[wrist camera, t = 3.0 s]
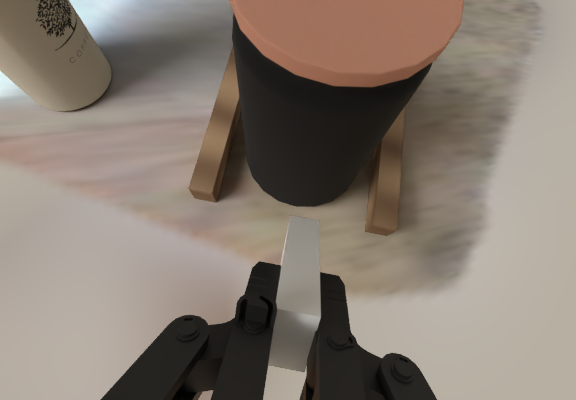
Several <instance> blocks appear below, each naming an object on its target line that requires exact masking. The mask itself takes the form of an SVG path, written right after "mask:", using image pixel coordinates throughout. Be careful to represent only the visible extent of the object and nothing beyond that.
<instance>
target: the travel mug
mask: <svg viewBox="0 0 576 400" xmlns="http://www.w3.org/2000/svg"><path fill="white" fill-rule="evenodd" d="M0 71H1V72H2V73H4V74H5V75H6V76H7V77H8V78H9V79H10V80H11V81H13V82H14V83H15V84H16V85H17V86H18V87H19V88H20V89H22V90H23V91H24V92H25V93H26V94H27V95H28V96H29V97H31V98H32V99H33V100H34V101H35V102H36V103H37V104H39V105H40V106H42V107H44V108H47V109H50V110H55V111H71V110H76V109H80V108H82V107H85V106H87V105H89V104H91V103H93V102H94V101H96V100H97V99H98V98H99V97H100V96H102V94H103V93H104V92H105V91H106V89H107V88H108V86H109V83H110V80H111V68H110V65H109V63H108V61H107V59H106V58H105V56H104V55H103V53H102V52H101V50H100V49H99V47H98V45H97V44H96V42H95V41H94V39H93V38H92V36H91V34H90V33H89V31H88V30H87V28H86V27H85V25H84V24H83V22H82V20H81V19H80V17H79V16H78V14H77V13H76V11H75V10H74V8H73V6H72V5H71V3H70V2H69V0H0Z"/></svg>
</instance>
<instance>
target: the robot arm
mask: <svg viewBox="0 0 576 400" xmlns="http://www.w3.org/2000/svg"><path fill="white" fill-rule="evenodd" d="M345 294H346V293H345V285H344V283H343V282H342V280H341V279H340V277H339V276H336V275H331V274H326V273H321V272H320V253H319V220H313V219H308V218H303V217H298V216H293V215H290V219H289V224H288V229H287V234H286V239H285V244H284V249H283V254H282V259H281V265H275V264H270V263H265V262H260V261H259V262H258V263H257V264H256V265H255V266H254V267H253V268H252V271H251V274H250V278H249V281H248V285H247V288H246V291H245V294H244V295H243V296H242V297H240V299H239V300H238V302H237V307H236V314H235V318H234V319H232V320H231V321H228V322H226V323H222V324H216V325H208V324H207V322H206V321H205V320H204V319H202V318H201V317H199V316H194V315H185V316H182V317H179V318H176V319H175V320H174V321H172V322H171V323H170V324H169V325H168V326H167V327H166V328H165V329H164V330H163V332H162V333H161V334H160V335H159V336H158V337H157V338H156V339H155V340H154V341H153V343H152V344H151V345H150V346H149V347H148V348H147V349H146V350H145V351H144V353H143V354H142V355H141V356H140V357H139V358H138V359H137V360H136V362H134V364H133V365H132V366H131V367H130V368H129V369H128V370H127V371H126V373H125V374H124V375H123V376H122V377H121V378H120V379H119V380H118V381H117V382H116V383H115V385H114V386H113V387H112V388H111V389H110V390H109V391H108V392H107V394H105V396H104V397H103V398H102V399H101V400H198V398H199V397H200V395H201V394H202V391H208V390H214V391H213V394H212V397H211V400H263V395H264V388H265V381H266V374H267V368H268V365H270V366H275V367H280V368H285V369H291V370H296V371H301V372H305V369H306V366H307V377H306V380H305V383H304V386H303V390H302V393H301V397H300V400H437V399H436V397H435V395H434V393H433V392H432V390H431V388H430V386H429V385H428V383H427V381H426V379H425V378H424V376H423V374H422V372H421V371H420V369H419V368H418V367H417V366H416V364H415V363H413V362H412V361H411V360H410V359H409V358H407V357H405V356H403V355H401V354H396V353H390V354H386V355H385V356H384V357H383V358H380V357H378V356H375V355H373V354H371V353H369V352H367V351H366V350H364V349H363V348H361V347H360V346H359V345H358V344H357V341H356V339H355V337H354V336H353V335H352V333H351V331H350V324H349V317H348V308H347V303H346V302H347V301H346V295H345Z"/></svg>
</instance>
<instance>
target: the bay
mask: <svg viewBox="0 0 576 400" xmlns="http://www.w3.org/2000/svg"><path fill="white" fill-rule="evenodd" d="M240 114H241V105H240V97H239V89H238V81H237V72H236V64H235V56H234V48H232V51H231V54H230V58H229V61H228V64H227V67H226V70H225V74H224V77H223V80H222V83H221V86H220V90H219V93H218V96H217V99H216V102H215V105H214V109H213V112H212V115H211V118H210V121H209V125H208V128H207V131H206V134H205V137H204V141H203V144H202V147H201V150H200V153H199V157H198V160H197V163H196V166H195V169H194V173H193V176H192V179H191V182H190V185H189V190H190V191H191V193H192V195H193V196H194V198H196V199H201V200H206V201H212V202H216V201H217V198H218V194H219V191H220V187H221V183H222V180H223V176H224V172H225V169H226V165H227V162H228V158H229V154H230V151H231V147H232V143H233V140H234V136H235V133H236V129H237V125H238V122H239V118H240ZM404 117H405V107H404V108H403V110H402V111H401V113H400V114H399V115H398V117H397V118H396V120H395V121H394V123H393V124H392V125H391V127H390V128H389V130H388V131H387V133H386V134H385V135H384V137H383V138H382V140H381V141H380V143H379V144H378V145H377V147H376V148H375V150H374V151H373V158H372V168H371V178H370V188H369V198H368V208H367V219H366V229H365V232H370V233H375V234H381V235H386V236H387V235H388V234H390V233H392V232H394V231H395V230H397V227H398V211H399V195H400V180H401V164H402V148H403V132H404Z"/></svg>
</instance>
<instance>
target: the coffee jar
mask: <svg viewBox="0 0 576 400" xmlns="http://www.w3.org/2000/svg"><path fill="white" fill-rule="evenodd" d="M229 1H230V4H231V6H232V9H233V34H232V39H233V48H234V56H235V64H236V72H237V81H238V89H239V97H240V105H241V114H242V122H243V130H244V138H245V147H246V155H247V162H248V165H249V168H250V171H251V173H252V176H253V178H254V179H255V180H256V182H257V183H258V184H259V186H260V187H261V188H262V189H263V191H265V192H266V193H268V194H269V195H271V196H272V197H273V198H275V199H276V200H278V201H280V202H284V203H287V204H290V205H293V206H318V205H321V204H324V203H327V202H330V201H333V200H334V199H335V198H337V197H338V196H339V195H341V194H342V193H343V192H345V191H346V190H347V188H348V187H349V186H350V184H351V183H352V181H353V180H354V178H355V177H356V175H357V174H358V173H359V171H360V170H361V168H362V167H363V165H364V164H365V163H366V161H367V160H368V158H369V157H370V155H371V154H372V153H373V151H374V150H375V148H376V147H377V145H378V144H379V143H380V141H381V140H382V138H383V137H384V135H385V134H386V133H387V131H388V130H389V128H390V127H391V125H392V124H393V123H394V121H395V120H396V118H397V117H398V115H399V114H400V113H401V111H402V110H403V108H404V107H405V105H406V104H407V102H408V101H409V100H410V98H411V97H412V95H413V94H414V92H415V91H416V90H417V88H418V87H419V85H420V84H421V82H422V81H423V79H424V78H425V76H426V75H427V73H428V72H429V70H430V68H431V65H432V62H433V61H435V60H436V58H437V57H438V56H439V55H440V54H441V52H442V51H443V50H444V49H445V47H446V46H447V44H448V43H449V41H450V40H451V38H452V37H453V35H454V34H455V32H456V31H457V29H458V28H459V26H460V24H461V19H462V12H463V5H464V0H229Z"/></svg>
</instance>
